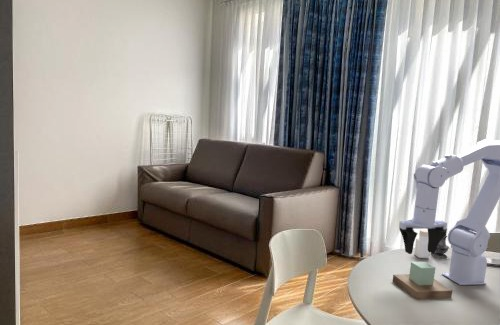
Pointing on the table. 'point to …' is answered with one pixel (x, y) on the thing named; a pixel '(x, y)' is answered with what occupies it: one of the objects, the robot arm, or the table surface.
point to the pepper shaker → (422, 245)
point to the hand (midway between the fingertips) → (419, 252)
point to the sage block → (422, 273)
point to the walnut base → (422, 288)
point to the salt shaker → (441, 248)
